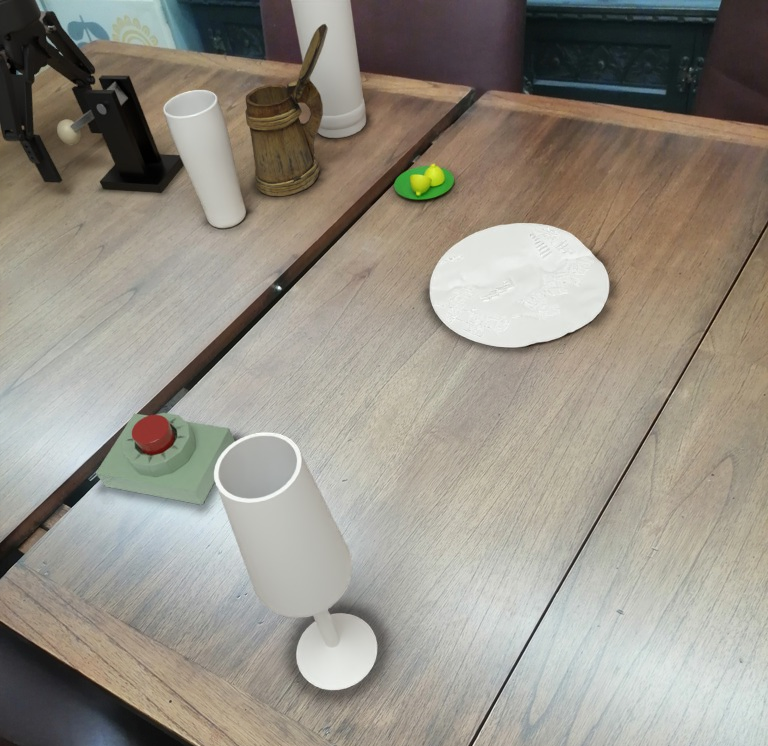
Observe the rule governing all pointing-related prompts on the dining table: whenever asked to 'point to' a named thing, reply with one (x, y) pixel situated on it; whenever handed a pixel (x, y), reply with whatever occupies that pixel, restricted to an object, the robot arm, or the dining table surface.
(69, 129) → the lever
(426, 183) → the lemon
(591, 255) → the plaque
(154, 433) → the button
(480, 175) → the dining table surface
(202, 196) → the drinking glass
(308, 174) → the wooden mug
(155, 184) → the lever bracket
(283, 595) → the champagne flute
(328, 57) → the bottle
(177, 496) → the control block
